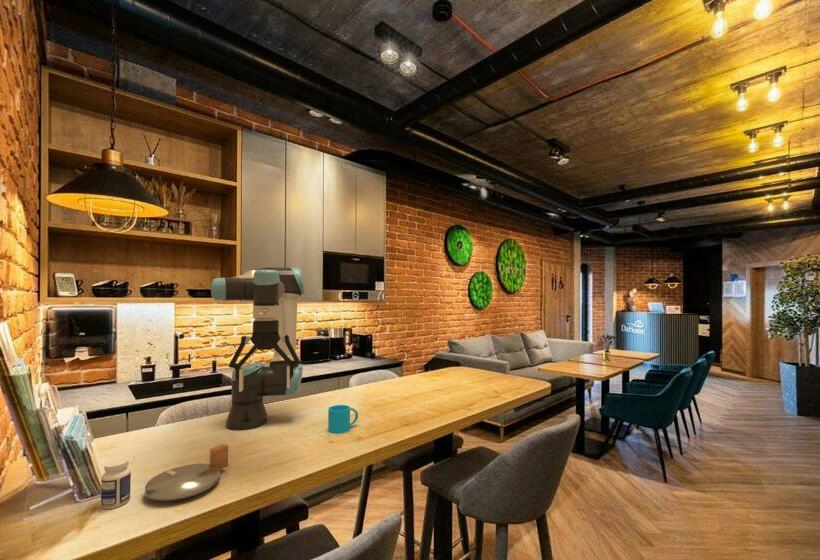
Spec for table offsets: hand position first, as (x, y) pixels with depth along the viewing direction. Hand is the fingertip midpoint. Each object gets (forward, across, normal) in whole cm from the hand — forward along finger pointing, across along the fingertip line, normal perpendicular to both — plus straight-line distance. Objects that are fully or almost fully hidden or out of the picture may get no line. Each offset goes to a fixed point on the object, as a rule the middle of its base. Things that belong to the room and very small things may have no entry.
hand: (265, 389), depth 115 cm
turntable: (+21, -18, -9) cm, 29 cm away
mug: (+22, +26, +23) cm, 41 cm away
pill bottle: (+22, -33, -14) cm, 42 cm away
